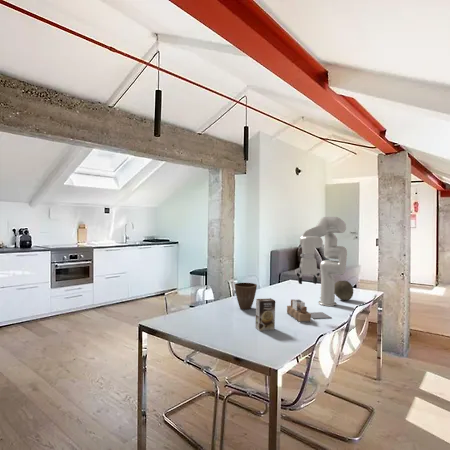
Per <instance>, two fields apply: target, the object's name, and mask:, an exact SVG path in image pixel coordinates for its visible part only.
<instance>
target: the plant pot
mask: <svg viewBox="0 0 450 450" xmlns="http://www.w3.org/2000/svg"><path fill="white" fill-rule="evenodd" d="M257 286H258V285H257V284H256V283H253V282H237V283H235V284H234V290H235V296H236V300H237V303H238V306H239V309H240V310H245V311H246V310H251V309H252V307H253V303H254V302H255V301H254V300H255V296H256V293H257Z"/></svg>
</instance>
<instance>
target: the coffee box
mask: <svg viewBox="0 0 450 450" xmlns="http://www.w3.org/2000/svg"><path fill="white" fill-rule="evenodd" d="M275 320H276V300H275V299H273V298H271V297H270V298H256V299H255V325H254V326H255V328H256V330H258V331H259V332H264V331H275V322H276V321H275Z"/></svg>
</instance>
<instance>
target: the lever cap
mask: <svg viewBox="0 0 450 450" xmlns="http://www.w3.org/2000/svg"><path fill="white" fill-rule="evenodd" d="M292 300H293V307H292V308H293V309H294V310H296V311H301V307H302V306H305V307H306V303H305V302H304V301H303V300H301V299H292Z"/></svg>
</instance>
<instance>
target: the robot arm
mask: <svg viewBox="0 0 450 450" xmlns="http://www.w3.org/2000/svg"><path fill="white" fill-rule="evenodd" d="M346 225H347V224H346V222H345V221H344V220H343V219H341V218H340V217H338V216H323V217H321V218H320V219H319V221H318V222H317V224H316V225H315V226H313V227H311V228H309V229H307V230H305V231H304V232H303V233H302V235H301V236H300V238H299V244H300V246H301V249H302V250H301V251H302V252H301V253H300V255H299V256H300V257H301V258H300V263H299V267H298V268H296V269H294V272H295V276H297V277H298V281H297V282H298V284H300V285H302V284H303V276H306V275H307V276H313V278H312V283H313V284H315V285H317V283H318V277H319V276H320V277H321V278H320V297H319V299H320V300H319V301H318V302H317V303H318V305H321V306H324V305H325V306H326V307H335V306H334V305H336V306H337V305H338V303H337V302H335V299H336V298H335V296H336V295H335V283H336V280H335V279H336V278H335V277H334V275H340V276H342V275H344V274H345V273H346V268H347V259H348V258H347V256H348V251H347V250H348V249H347V247H345V246H342V245H338V238H337V236H336V235H335V234H343V233H345V232H346V230H347V226H346ZM322 237H324V239H325V240H324V242H323V238H322ZM323 244H324V248H323V257H325V258H326V259H325V260H324V259H323V260H322V261H321V262H320V265H319V268H318V264H317V259H316V258H315V254H316V252H315V249H319V248H321V247H322V246H323Z"/></svg>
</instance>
